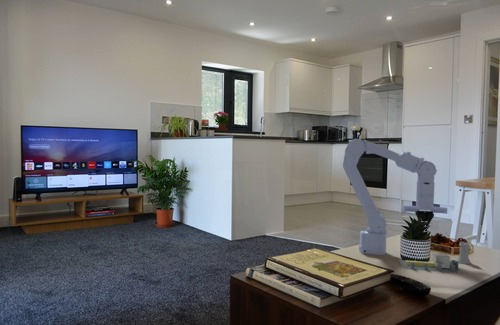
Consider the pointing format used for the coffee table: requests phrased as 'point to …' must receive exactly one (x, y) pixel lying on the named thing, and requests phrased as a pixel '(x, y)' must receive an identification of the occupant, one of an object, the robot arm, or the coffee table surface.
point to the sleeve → (441, 260)
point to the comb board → (429, 266)
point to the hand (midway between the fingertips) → (423, 232)
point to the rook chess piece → (463, 253)
